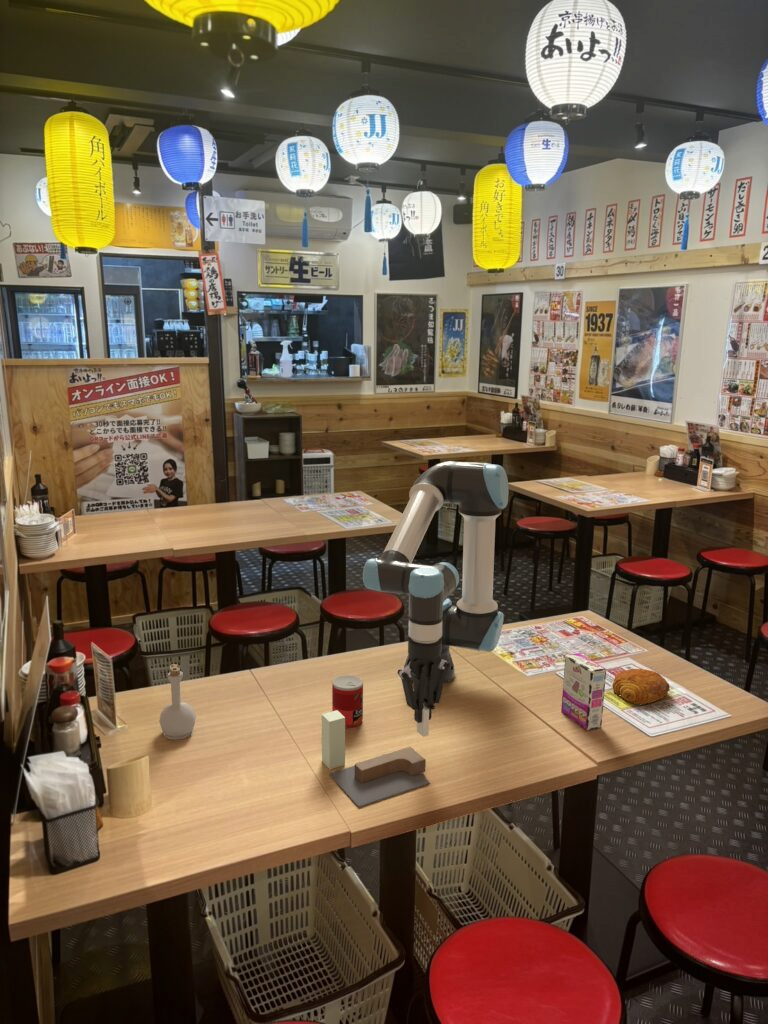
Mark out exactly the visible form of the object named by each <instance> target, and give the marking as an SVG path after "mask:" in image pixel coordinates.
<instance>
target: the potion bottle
mask: <svg viewBox="0 0 768 1024" xmlns="http://www.w3.org/2000/svg"><path fill="white" fill-rule="evenodd" d="M183 674H184V672H183V671H181V667H179V666H178V664H177V663H173V664H170V666H169V672H168V673H167V674H166V675H167V679H168V682H169V683H170V689H171V690H170V691H171V703H168V704H167V705H166V706H165V707H164V708H163V709H162V711H161V713H160V716H159V721H158V722H159V724H160V728H161V731H162V734H163V735H164V737H165V739H169V740H171V741H177V740H183V739H186V738H188V737H189V736H191V735H192V732H193V730H194V727H195V725H196V719H197V716H196V713H195V710H194V708H192V706H191V705H190V704H188V703H187V701H186V702H184V701H182V699H181V697H182V696H181V681H182V680H183V676H184V675H183Z"/></svg>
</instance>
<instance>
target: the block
mask: <svg viewBox="0 0 768 1024" xmlns="http://www.w3.org/2000/svg"><path fill="white" fill-rule="evenodd" d="M321 761H322V763H323V764H324V766H325V767H327V768H328V769H329V770H333V769H336V768H339V767H342V766H345V765H346V727H345V717H344V716H343V715H342V714H341V713H340V712H339V711H338V710H336V711H328V712H325V713H321Z"/></svg>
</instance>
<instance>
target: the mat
mask: <svg viewBox="0 0 768 1024" xmlns="http://www.w3.org/2000/svg"><path fill="white" fill-rule="evenodd" d="M328 774H329V776H330V777H331V779H332V780H334V783H336V784H337V786H339V788H341V790H342V791H343V792H344V793H345V794H346V796H347V797H348V798H349V799H350V800H351V801H352V803H354V804H355V806H357V808H359V809H360V808H362V807H366V806H368V805H371V804H375V803H378V802H380V801H383V800H386V799H390V798H392V797H395V796H398V795H402V794H405V793H408V792H410V791H413V790H416V789H418V788H422V787H425V786H428V785H430V784H431V781H429V780H428V779H427V778H426V777H425V776H424V775H423V774H422V773H421V774H418V775H415V776H411V775H410V774H409V773H407V772H404V771H399V772H395V773H392V774H389V775H386V776H383V777H380V778H377V779H374V780H371V781H368V782H365V783H360V782H359V781H358V780H357V779H356V778H355V765H353V766H349V767H345V768H342V769H339V770H336V771H333V772H329V773H328Z"/></svg>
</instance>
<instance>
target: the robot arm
mask: <svg viewBox="0 0 768 1024" xmlns="http://www.w3.org/2000/svg"><path fill="white" fill-rule="evenodd" d="M408 493H409V494H408V497H409V500H408V501H407V505H406V506H405V508H404V510H403V513H402V514H401V516H400V518H399V520H398V523H397V524H396V526H395V528H394V531H393V532H392V534H391V537H390V538H389V540H388V543H387V544H386V546H385V548H384V550H383V552H382V554H381V556H380V557H379V558H377V557H376V558H369V559H367V560H366V562H365V563H364V566H363V570H362V581H363V585H364V587H365V588H366V589H368V590H373V591H377V592H380V593H381V592H382V593H383V592H384V593H392V594H400V595H407V596H408V632H407V633H408V639H407V653H408V654H407V657H406V660H405V662H404V664H403V669H401V668H400V669H398V670H397V674H398V676H399V677H400V679H401V682H402V683H401V684H402V689H403V692H404V696H405V697H404V698H405V702H406V705H407V706H408V707H409V708H411V710H413V711H414V718H413V719H414V721H415V722H416V733H417V734H419V735H420V736H421V737H423V738H424V737H427V736H429V731H430V728H429V727H430V724H429V723H430V720H432V717H433V716H432V714H433V713H432V711H433V710H434V709H435V707H436V706H435V704H437V705H438V704H439V703H440V702H441V701H440V700H441V698H442V694H443V693H442V692H443V689H444V684H447V683H449V682H451V681H453V680H454V678H455V672H456V671H455V670H456V669H455V665H454V661H453V657H452V655H451V652H450V647H456V648H460V649H461V648H462V649H466V650H472V651H477V652H480V651H481V652H493V651H495V649H496V648H497V646H498V644H499V643H498V642H499V640H500V638H501V637H500V636H501V633H502V629H503V623H504V613H503V612H502V611H498V610H499V609H498V606H499V605H498V603H497V601H496V600H494V598H493V596H494V595H493V593H494V592H493V591H494V568H495V567H494V565H495V542H496V540H495V539H496V538H495V537H496V519H497V518H498V517H499V516H500V515H502V510H503V509H505V508H507V506H508V503H509V495H510V494H509V480H508V475H507V472H506V470H505V468H504V467H503V466H502V465H499V464H494V463H493V464H492V463H489V462H471V461H455V460H448V461H441V462H439V463H436V464H435V465H433V466H431V467H429V468H428V469H427V470H425V471H424V472H423V473H421V475H420V476H418V477H417V479H416V480H415V481H414V482H413V484H412V486H411V488H410V490H409V492H408ZM444 504H453V505H454V504H455V505H458V513H459V515H461V516H462V517H463V540H462V541H463V543H462V544H463V549H462V551H463V552H462V585H461V587H462V589H461V592H462V593H461V598H459V600H457V602H456V605H453V604H452V600H451V599H450V596H451V595H452V594H453V593H454V592H455V591H456V589H457V586H458V585H459V582H460V576H459V572H458V570H457V569H456V567H455V566H454V565H452V564H451V563H449V562H445V561H441V562H437V563H435V564H433V565H429V564H421V563H414V562H413V560H414V558H415V556H416V555H417V551H418V549H419V547H420V545H421V543H422V541H423V539H424V536H425V534H427V533H426V532H427V531H428V529H429V526H430V524H431V521H432V520H433V518H434V515H435V513H436V512H438V511H439V510H440V509H441V508H442V507H443V505H444Z"/></svg>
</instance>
